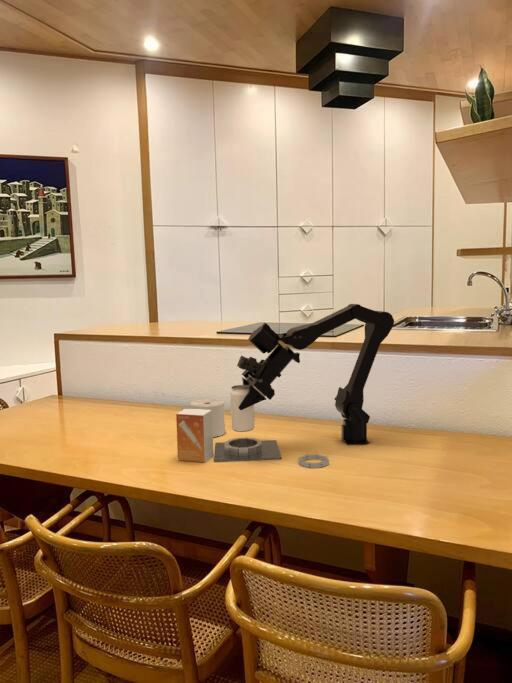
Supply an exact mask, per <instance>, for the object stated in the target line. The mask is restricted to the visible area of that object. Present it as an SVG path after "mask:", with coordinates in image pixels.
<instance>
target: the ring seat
mask: <svg viewBox="0 0 512 683" xmlns="http://www.w3.org/2000/svg"><path fill="white" fill-rule="evenodd" d="M268 460H282V455H281V452H280V448H279V445H278V442H277V440H276V439H271V440H266V439H265V440H262V439H261V440H260V439H258V438H254V437H248V436H247V437H236V438H231V439H228V440H227V441H223V442H222V441H221V442H215V445H214V453H213V463H223V462H225V463H226V462H245V461H246V462H250V461H268Z"/></svg>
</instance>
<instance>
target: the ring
mask: <svg viewBox="0 0 512 683" xmlns="http://www.w3.org/2000/svg"><path fill="white" fill-rule="evenodd" d="M297 459H298V460H297V461H298V464H299V466H300V467H303V466H304V468H308V469H317V468H318V469H321V467H322V468H324V467H327V466H328V464H329V465H330V459H329V458H328V456H327V455H323V454H318V453H317V454H311V453H310V454H304V455H302V456H300V457H298V458H297ZM308 460H320V462H308Z"/></svg>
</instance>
